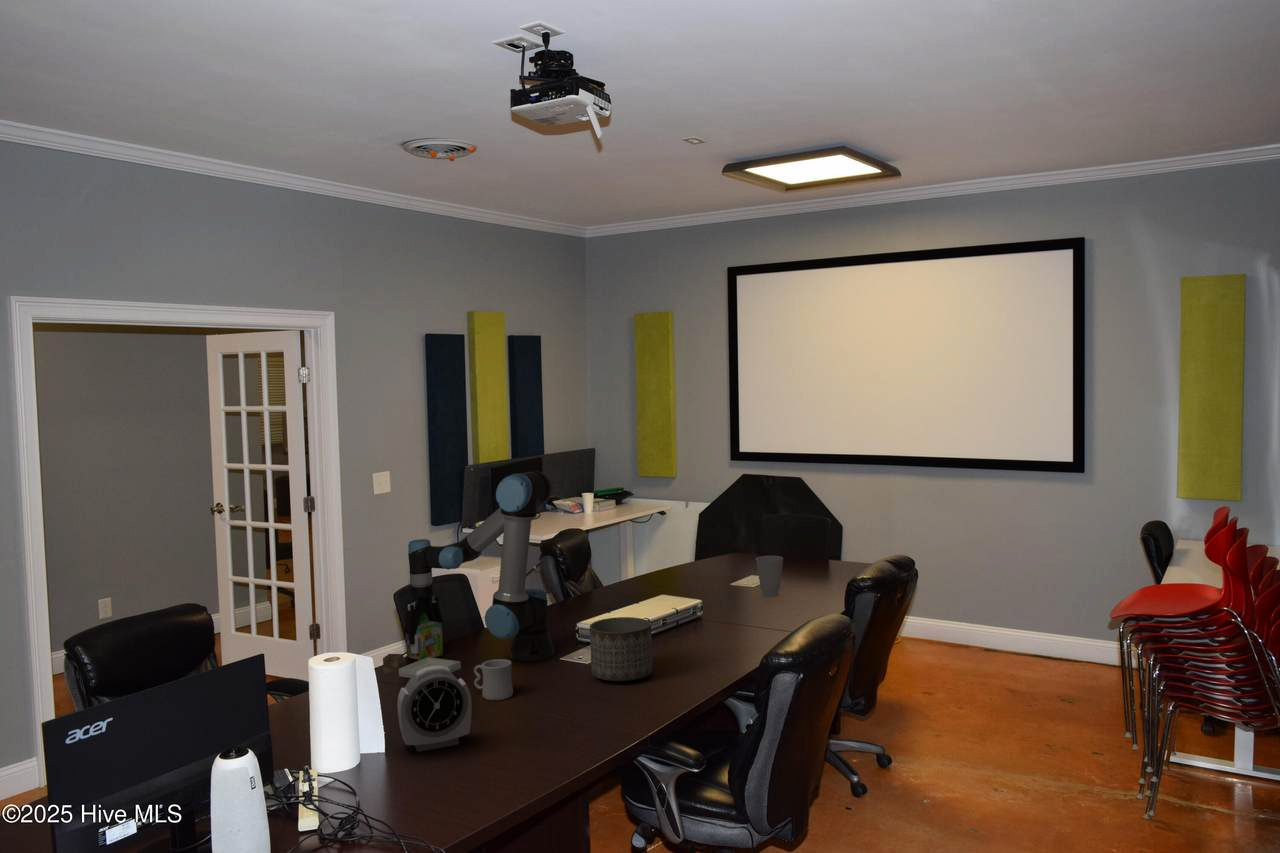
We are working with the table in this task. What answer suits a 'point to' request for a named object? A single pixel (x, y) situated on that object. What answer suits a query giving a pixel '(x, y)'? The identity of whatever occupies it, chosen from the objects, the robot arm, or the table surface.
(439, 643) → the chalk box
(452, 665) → the tray
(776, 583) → the cup
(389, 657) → the walnut block
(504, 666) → the mug
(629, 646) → the planter
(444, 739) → the alarm clock
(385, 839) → the table surface
